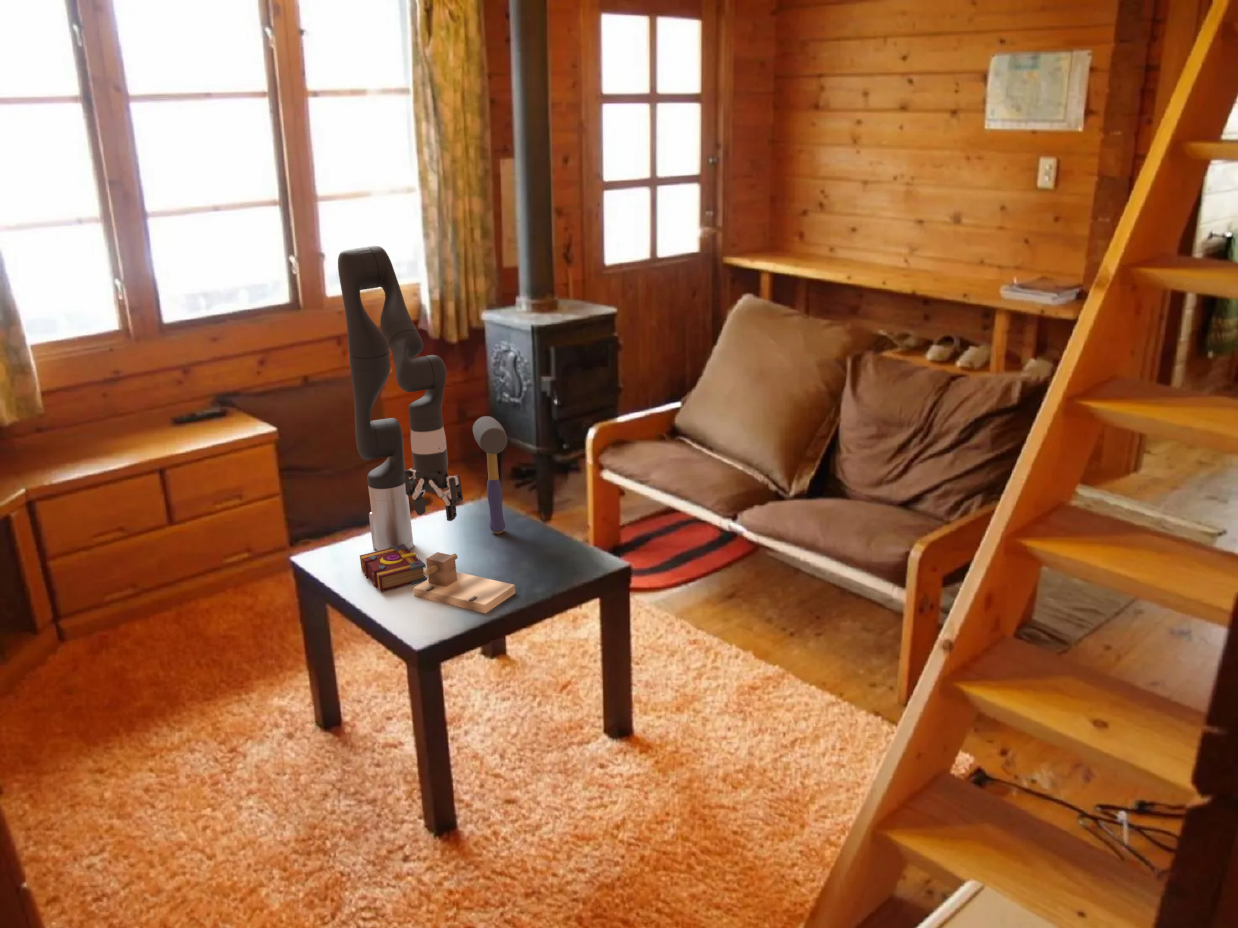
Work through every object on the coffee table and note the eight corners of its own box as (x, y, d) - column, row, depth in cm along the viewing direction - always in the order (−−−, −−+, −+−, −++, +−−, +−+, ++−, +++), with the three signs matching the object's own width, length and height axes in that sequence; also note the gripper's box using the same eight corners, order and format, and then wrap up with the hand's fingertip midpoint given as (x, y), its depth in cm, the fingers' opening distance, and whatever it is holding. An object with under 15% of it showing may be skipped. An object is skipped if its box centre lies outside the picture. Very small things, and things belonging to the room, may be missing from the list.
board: (414, 595, 235) (413, 586, 234) (445, 577, 244) (444, 568, 243) (485, 613, 225) (484, 603, 224) (515, 592, 234) (514, 583, 233)
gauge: (420, 588, 234) (417, 563, 232) (448, 571, 242) (445, 547, 240) (437, 592, 231) (434, 567, 230) (465, 574, 240) (463, 550, 238)
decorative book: (380, 594, 237) (378, 574, 235) (359, 570, 250) (356, 551, 249) (428, 581, 242) (425, 562, 241) (404, 559, 256) (402, 540, 254)
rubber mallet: (517, 538, 264) (508, 425, 254) (487, 543, 262) (477, 428, 252) (507, 521, 275) (498, 412, 266) (479, 526, 273) (469, 415, 264)
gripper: (392, 448, 227) (400, 517, 232) (443, 456, 220) (450, 527, 225) (415, 438, 233) (422, 506, 238) (465, 446, 226) (472, 516, 231)
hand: (436, 516), depth 232 cm, fingers open, 8 cm apart
